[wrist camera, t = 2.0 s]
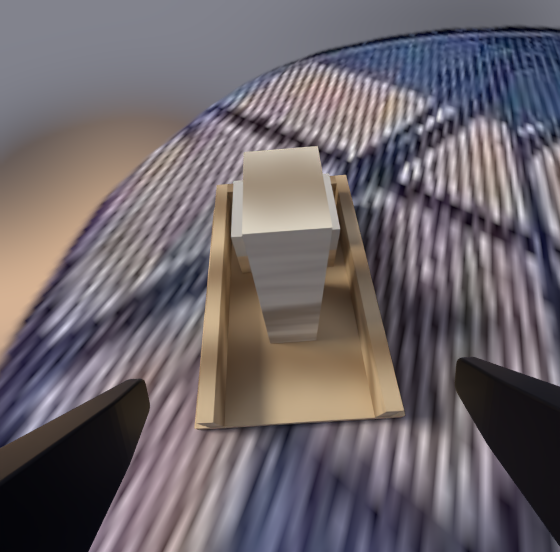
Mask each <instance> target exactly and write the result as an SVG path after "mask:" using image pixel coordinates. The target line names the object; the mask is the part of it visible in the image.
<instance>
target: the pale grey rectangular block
mask: <svg viewBox="0 0 560 552" xmlns="http://www.w3.org/2000/svg"><path fill="white" fill-rule="evenodd" d="M332 228H333V227H332V222H331V216H330V211H329V206H328V200H327V195H326V189H325V184H324V179H323V173H322V168H321V163H320V157H319V152H318V147H317V146H315V147H303V148H290V149H278V150H266V151H253V152H244V164H243V211H242V236H243V240H244V244H245V248H246V252H247V256H248V259H249V263H250V267H251V271H252V275H253V279H254V283H255V287H256V291H257V294H258V298H259V302H260V306H261V310H262V314H263V318H264V322H265V325H266V329H267V333H268V337H269V341H270V343H285V342H300V341H314V340H316V338H317V331H318V324H319V317H320V310H321V304H322V297H323V290H324V283H325V276H326V269H327V262H328V255H329V249H330V242H331V235H332Z"/></svg>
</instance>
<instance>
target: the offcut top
mask: <svg viewBox="0 0 560 552" xmlns="http://www.w3.org/2000/svg"><path fill="white" fill-rule="evenodd" d="M323 179H324V184H325V189H326V195H327V200H328V206H329V211H330V216H331V222H332V227H333V228H332V235H331V242H330V249H329V250H336V249H337V245H338V239H339V234H340V225H339V220H338V215H337V210H336V205H335V200H334V196H333V191H332V186H331V181H330V176H329V174H323ZM242 211H243V180H242V181H234V182H233V204H232V226H231V239H232V242H233V245H234V248H235V252H236V255H237V257H241V256H247V252H246V248H245V244H244V240H243V236H242Z"/></svg>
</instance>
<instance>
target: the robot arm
mask: <svg viewBox="0 0 560 552" xmlns="http://www.w3.org/2000/svg"><path fill="white" fill-rule="evenodd" d="M455 388H456V391H457V393H458V395H459V397H460V399H461V400H462V402H463V404H464V405H465V407H466V409H467V411H468V412H469V414H470V416H471V418H472V419H473V421H474V423H475V424H476V426H477V428H478V430H479V431H480V433H481V435H482V436H483V438H484V440H485V441H486V443H487V444H488V446H489V447H490V449H491V450H492V452H493V453H494V455H495V456H496V457H497V459H498V460H499V462H500V463H501V464H502V466H503V467H504V469H505V470H506V471H507V473H508V474H509V476H510V477H511V478H512V480H513V481H514V483H515V484H516V485H517V487H518V488H519V490H520V491H521V493H522V494H523V495H524V497H525V498H526V500H527V501H528V502H529V504H530V505H531V507H532V508H533V509H534V511H535V512H536V514H537V515H538V516H539V518H540V519H541V521H542V522H543V523H544V525H545V526H546V528H547V529H548V530H549V532H550V533H551V535H552V536H553V537H554V539H555V540H556V542H557V543H558V545H559V546H560V387H559V386H556V385H553V384H551V383H548V382H545V381H542V380H539V379H536V378H533V377H530V376H527V375H525V374H522V373H519V372H516V371H513V370H510V369H507V368H504V367H502V366H499V365H496V364H493V363H490V362H487V361H484V360H481V359H479V358H476V357H464V358H459V359H458V360H457V363H456V375H455ZM149 409H150V402H149V397H148V393H147V388H146V384H145V381H144V380H143V379H129V380H126V381H125V382H123V383H121V384H119V385H117V386H115V387H113V388H112V389H110V390H108V391H106V392H104V393H102V394H100V395H98V396H97V397H95V398H93V399H91V400H89V401H87V402H85V403H84V404H82V405H80V406H78V407H76V408H74V409H72V410H71V411H69V412H67V413H65V414H63V415H61V416H59V417H58V418H56V419H54V420H52V421H50V422H48V423H46V424H45V425H43V426H41V427H39V428H37V429H35V430H33V431H31V432H30V433H28V434H26V435H24V436H22V437H20V438H18V439H17V440H15V441H13V442H11V443H9V444H7V445H5V446H4V447H2V448H0V552H88V551H89V549H90V547H91V545H92V543H93V541H94V539H95V537H96V535H97V532H98V530H99V528H100V526H101V524H102V522H103V520H104V518H105V516H106V514H107V511H108V509H109V507H110V505H111V503H112V501H113V499H114V497H115V495H116V492H117V490H118V488H119V486H120V484H121V482H122V480H123V478H124V476H125V474H126V471H127V469H128V467H129V465H130V462H131V460H132V457H133V455H134V452H135V449H136V446H137V443H138V441H139V438H140V435H141V432H142V430H143V427H144V424H145V421H146V419H147V416H148V413H149Z"/></svg>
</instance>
